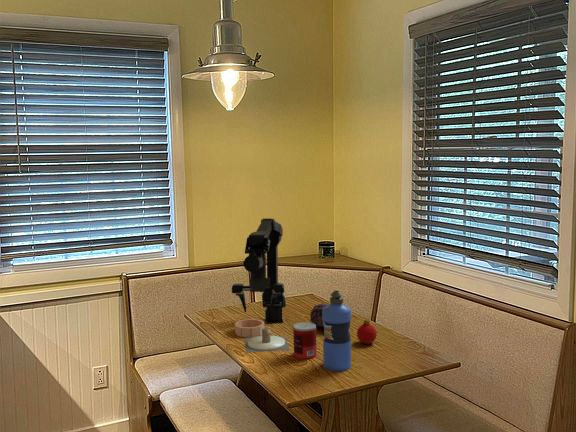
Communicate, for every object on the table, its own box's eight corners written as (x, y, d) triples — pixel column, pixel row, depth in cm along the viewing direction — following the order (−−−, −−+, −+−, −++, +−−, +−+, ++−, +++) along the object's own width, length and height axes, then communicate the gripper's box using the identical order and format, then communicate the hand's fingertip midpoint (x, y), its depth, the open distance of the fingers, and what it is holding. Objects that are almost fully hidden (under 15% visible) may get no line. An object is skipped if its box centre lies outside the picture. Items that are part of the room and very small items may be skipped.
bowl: (263, 327, 234) (262, 318, 233) (265, 337, 222) (265, 327, 222) (234, 329, 232) (234, 319, 232) (236, 339, 221) (235, 329, 220)
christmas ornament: (371, 338, 218) (371, 312, 217) (380, 345, 212) (380, 318, 210) (353, 341, 216) (353, 314, 215) (362, 347, 210) (361, 320, 208)
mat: (284, 336, 223) (284, 335, 223) (289, 350, 208) (289, 349, 208) (244, 339, 221) (244, 338, 221) (247, 353, 206) (247, 352, 206)
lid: (282, 336, 222) (282, 322, 221) (287, 349, 208) (287, 334, 208) (246, 338, 220) (246, 324, 219) (248, 351, 207) (248, 337, 206)
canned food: (319, 353, 205) (318, 323, 203) (312, 362, 197) (312, 330, 196) (298, 351, 207) (297, 321, 206) (290, 359, 200) (290, 328, 198)
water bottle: (331, 373, 187) (330, 296, 184) (318, 363, 196) (317, 289, 193) (356, 368, 191) (356, 292, 188) (342, 358, 199) (342, 286, 196)
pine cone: (344, 334, 224) (344, 308, 223) (320, 337, 221) (320, 311, 220) (327, 320, 241) (327, 296, 240) (304, 323, 238) (304, 299, 237)
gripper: (230, 271, 204) (230, 316, 205) (284, 271, 205) (284, 316, 205) (232, 268, 216) (232, 310, 216) (283, 267, 216) (284, 310, 216)
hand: (258, 312), depth 213 cm, fingers open, 9 cm apart
